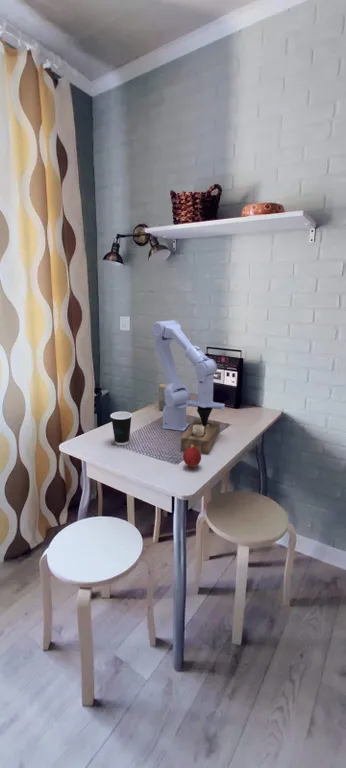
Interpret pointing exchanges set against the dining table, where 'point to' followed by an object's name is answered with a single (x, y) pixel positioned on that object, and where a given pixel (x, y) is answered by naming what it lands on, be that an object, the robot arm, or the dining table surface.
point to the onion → (192, 456)
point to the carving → (162, 396)
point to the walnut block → (204, 442)
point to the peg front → (198, 430)
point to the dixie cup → (121, 427)
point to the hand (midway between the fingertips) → (204, 425)
